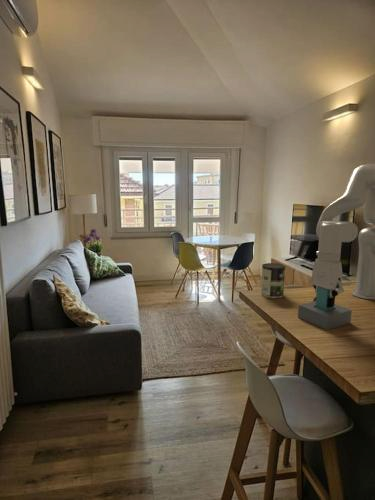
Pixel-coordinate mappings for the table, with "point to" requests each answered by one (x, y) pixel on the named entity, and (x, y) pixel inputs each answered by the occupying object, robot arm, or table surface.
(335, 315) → the socket
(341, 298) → the table surface
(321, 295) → the peg
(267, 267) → the coffee can
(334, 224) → the robot arm
